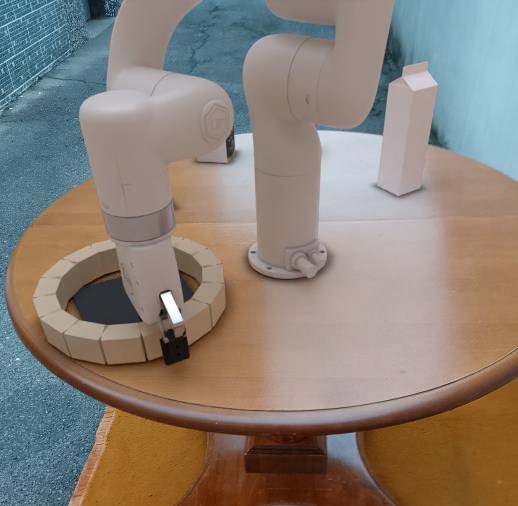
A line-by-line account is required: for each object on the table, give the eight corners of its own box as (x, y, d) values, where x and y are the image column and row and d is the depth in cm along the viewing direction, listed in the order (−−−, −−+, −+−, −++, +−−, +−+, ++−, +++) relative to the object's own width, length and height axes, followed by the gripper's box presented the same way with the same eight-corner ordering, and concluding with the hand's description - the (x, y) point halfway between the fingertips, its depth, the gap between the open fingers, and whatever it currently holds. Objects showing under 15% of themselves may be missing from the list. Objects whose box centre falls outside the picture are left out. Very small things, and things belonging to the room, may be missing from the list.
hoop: (256, 323, 73) (255, 299, 70) (64, 390, 64) (54, 365, 62) (186, 241, 91) (183, 220, 88) (28, 285, 82) (20, 262, 79)
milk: (420, 188, 104) (443, 64, 90) (397, 196, 102) (417, 70, 88) (398, 178, 108) (416, 57, 94) (375, 185, 106) (391, 63, 91)
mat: (210, 316, 75) (210, 314, 75) (98, 354, 70) (97, 351, 69) (170, 264, 86) (170, 262, 86) (71, 293, 81) (70, 291, 80)
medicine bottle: (228, 163, 117) (223, 106, 109) (196, 162, 118) (190, 105, 111) (235, 151, 122) (232, 95, 115) (205, 150, 124) (200, 95, 116)
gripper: (86, 195, 62) (116, 312, 74) (129, 263, 51) (158, 390, 62) (147, 181, 65) (168, 296, 76) (202, 242, 53) (217, 368, 64)
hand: (164, 338), depth 69 cm, fingers open, 9 cm apart
